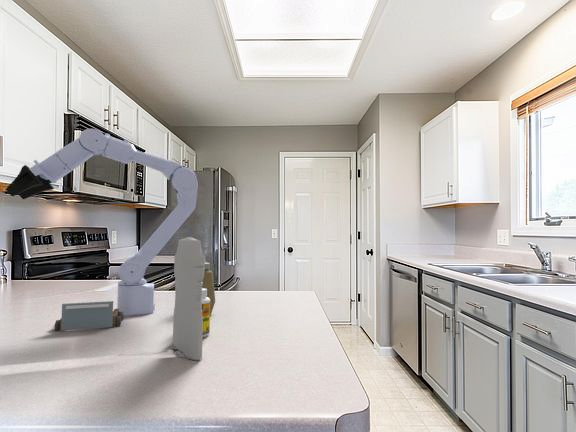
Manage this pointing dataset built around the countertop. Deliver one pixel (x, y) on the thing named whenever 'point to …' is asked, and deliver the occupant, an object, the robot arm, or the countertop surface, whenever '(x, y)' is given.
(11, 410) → the countertop surface
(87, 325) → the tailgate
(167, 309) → the countertop surface
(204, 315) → the supplement bottle
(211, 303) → the squeeze bottle
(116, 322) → the cart bed
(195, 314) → the tall pale column
